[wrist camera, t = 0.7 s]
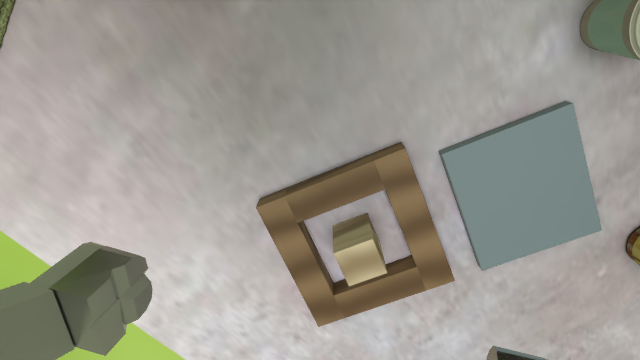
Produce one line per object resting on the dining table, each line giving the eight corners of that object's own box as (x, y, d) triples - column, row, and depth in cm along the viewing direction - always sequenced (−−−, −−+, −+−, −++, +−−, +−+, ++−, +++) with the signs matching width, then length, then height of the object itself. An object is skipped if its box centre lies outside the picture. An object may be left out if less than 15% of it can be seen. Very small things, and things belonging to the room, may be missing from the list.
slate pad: (438, 151, 51) (441, 154, 49) (565, 101, 48) (573, 103, 47) (478, 264, 56) (482, 270, 55) (594, 225, 54) (601, 230, 52)
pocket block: (260, 198, 54) (256, 207, 51) (401, 142, 50) (405, 148, 48) (319, 313, 59) (318, 326, 57) (448, 268, 56) (454, 280, 53)
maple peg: (333, 225, 55) (333, 253, 48) (367, 212, 54) (372, 238, 47) (346, 255, 56) (349, 286, 49) (380, 243, 55) (387, 272, 48)
